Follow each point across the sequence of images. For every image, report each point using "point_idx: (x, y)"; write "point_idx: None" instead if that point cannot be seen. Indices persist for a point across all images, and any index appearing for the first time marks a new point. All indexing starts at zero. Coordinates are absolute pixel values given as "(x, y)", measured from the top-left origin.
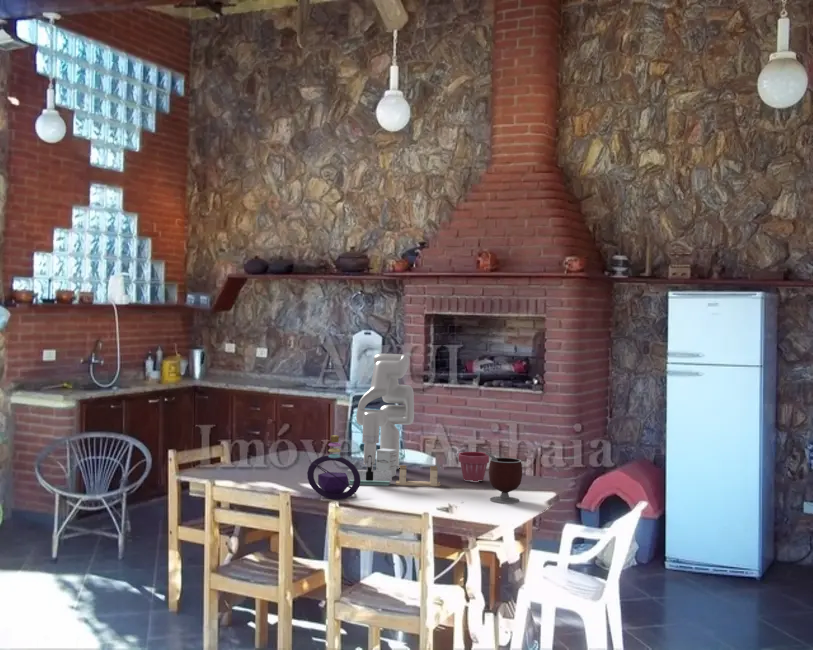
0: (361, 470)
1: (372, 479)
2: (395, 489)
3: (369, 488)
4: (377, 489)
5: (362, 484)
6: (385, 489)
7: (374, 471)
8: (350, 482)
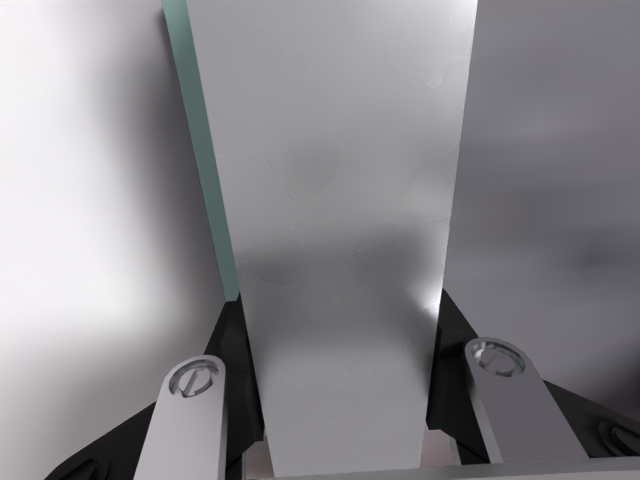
0: (346, 241)
1: None
2: None
3: (37, 298)
4: (30, 366)
5: (208, 206)
6: (71, 418)
7: (285, 452)
8: None
